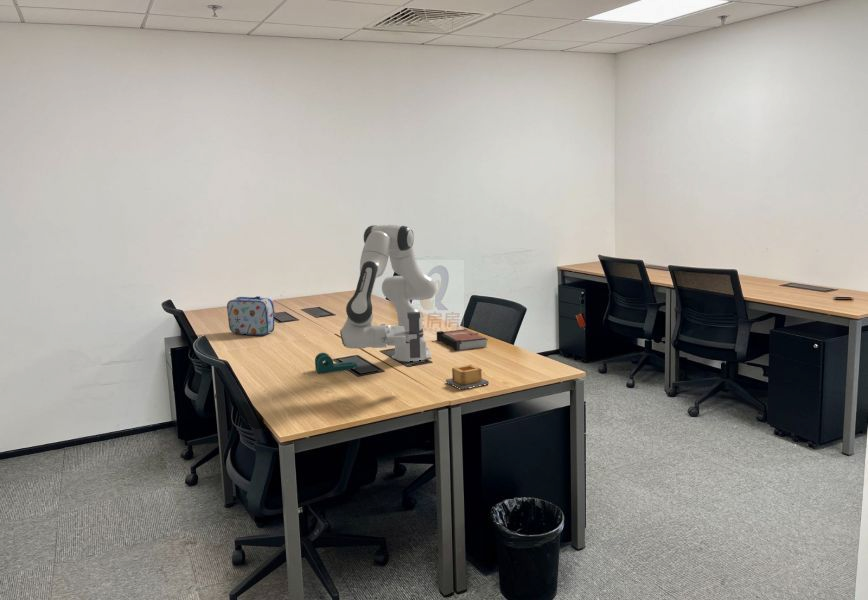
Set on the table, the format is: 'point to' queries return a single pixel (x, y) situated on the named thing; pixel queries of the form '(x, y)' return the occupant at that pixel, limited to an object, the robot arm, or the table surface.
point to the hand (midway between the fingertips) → (416, 334)
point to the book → (461, 339)
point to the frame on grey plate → (466, 377)
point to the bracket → (331, 364)
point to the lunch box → (251, 315)
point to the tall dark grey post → (414, 329)
